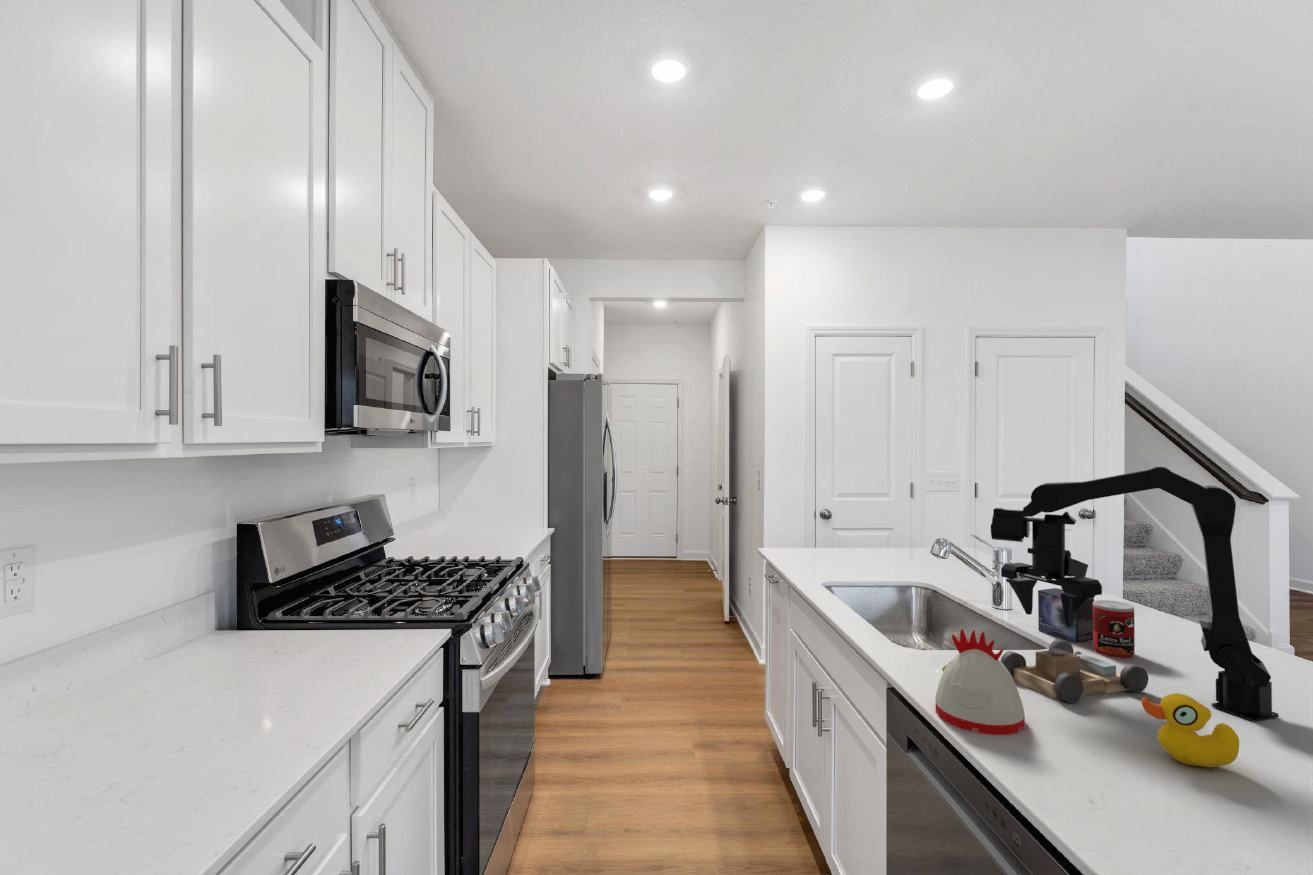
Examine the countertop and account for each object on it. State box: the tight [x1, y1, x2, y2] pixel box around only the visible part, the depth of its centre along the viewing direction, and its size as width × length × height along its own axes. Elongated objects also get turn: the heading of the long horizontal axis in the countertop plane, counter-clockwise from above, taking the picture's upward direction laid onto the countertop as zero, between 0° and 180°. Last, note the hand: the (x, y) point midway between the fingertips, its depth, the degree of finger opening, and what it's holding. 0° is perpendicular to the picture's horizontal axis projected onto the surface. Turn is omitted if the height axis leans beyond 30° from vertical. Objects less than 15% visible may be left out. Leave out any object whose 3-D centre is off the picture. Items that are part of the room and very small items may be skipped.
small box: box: [1037, 587, 1095, 644], centre depth 154 cm, size 11×6×10 cm, turn 17°
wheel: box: [1048, 638, 1075, 654], centre depth 135 cm, size 2×5×5 cm, turn 106°
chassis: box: [1000, 650, 1149, 704], centre depth 123 cm, size 14×21×5 cm
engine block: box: [1035, 648, 1080, 683], centre depth 122 cm, size 4×6×7 cm
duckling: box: [1141, 693, 1240, 768], centre depth 93 cm, size 11×5×10 cm, turn 66°
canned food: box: [1092, 599, 1136, 659], centre depth 141 cm, size 8×8×11 cm
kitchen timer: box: [935, 628, 1026, 736], centre depth 109 cm, size 14×14×15 cm
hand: (1048, 620), depth 128 cm, fingers open, 9 cm apart
